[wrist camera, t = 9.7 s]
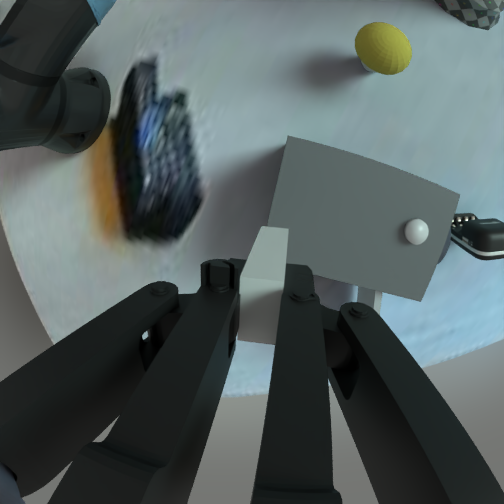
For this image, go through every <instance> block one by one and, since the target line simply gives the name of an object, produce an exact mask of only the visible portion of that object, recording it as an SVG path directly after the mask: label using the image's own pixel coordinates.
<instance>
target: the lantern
mask: <svg viewBox="0 0 504 504" xmlns="http://www.w3.org/2000/svg"><path fill="white" fill-rule="evenodd" d="M435 1H436V2H437V3H438V4H439V5H440V6H441V7H442V8H443V9H444V10H445V11H446V12H448V13H450V14H451V15H453V16H454V17H456V18H458V19H459V20H461V21H462V22H464V23H465V24H467V25H468V26H471V27H476V28H481V29H485V30H489V29H490V28H492V27H493V26H494V25H496V24H497V23H498V21H499V18H500V12H501V11H503V10H504V0H435Z"/></svg>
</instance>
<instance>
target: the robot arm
mask: <svg viewBox="0 0 504 504" xmlns="http://www.w3.org/2000/svg"><path fill="white" fill-rule="evenodd" d="M115 2H116V0H0V151H2V150H8V149H15V148H22V147H30V146H40V145H41V146H44V147H46V148H49V149H51V150H54V151H57V152H59V153H64V154H68V153H78V152H81V151H83V150H85V149H87V148H88V147H89V146H91V145H92V144H93V143H94V142H95V140H96V139H97V138H98V137H99V135H100V134H101V132H102V130H103V128H104V126H105V124H106V121H107V118H108V114H109V110H110V101H111V97H110V89H109V85H108V82H107V80H106V79H105V77H104V76H103V75H102V74H101V73H100V72H98V71H96V70H93V69H89V68H75V69H70V70H65V69H66V67H67V66H68V64H69V63H70V61H71V60H72V59H73V57H74V56H75V54H76V53H77V52H78V50H79V49H80V47H81V46H82V45H83V43H84V42H85V41H86V39H87V38H88V37H89V36H90V34H91V33H92V32H93V31H94V29H95V28H96V27H97V26H99V25H100V23H101V20H102V19H103V18H104V16H105V15H106V14H107V13H108V11H109V10H110V9H111V8H112V6H113V5H114V4H115ZM288 230H289V229H287V228H276V227H266V226H261V228H260V231H259V233H258V235H257V238H256V240H255V243H254V245H253V247H252V250H251V252H250V254H249V257H248V259H247V260H243V259H233V258H230V259H229V260H225V259H213V260H208V261H205V262H203V263H202V264H201V286H200V288H199V290H198V291H197V293H193V294H178V287H177V286H176V285H175V284H173V283H170V282H165V281H162V282H161V281H157V282H154V283H150V284H148V285H146V286H144V287H143V288H141V289H139V290H138V291H136V292H135V293H133V294H132V295H130V296H128V297H127V298H125V299H124V300H122V301H120V302H119V303H117V304H116V305H114V306H113V307H111V308H110V309H108V310H106V311H105V312H103V313H102V314H100V315H99V316H97V317H96V318H94V319H92V320H91V321H89V322H88V323H86V324H85V325H83V326H82V327H80V328H79V329H77V330H76V331H74V332H73V333H71V334H70V335H68V336H67V337H65V338H64V339H62V340H61V341H59V342H58V343H56V344H55V345H53V346H52V347H50V348H49V349H47V350H46V351H44V352H43V353H41V354H40V355H38V356H37V357H35V358H34V359H33V360H31V361H30V362H28V363H27V364H25V365H24V366H22V367H21V368H20V369H18V370H17V371H15V372H14V373H12V374H11V375H9V376H8V377H7V378H5V379H4V380H2V381H1V382H0V504H25V502H24V501H23V499H22V497H24V496H27V495H29V494H32V493H33V492H35V491H37V490H39V489H40V488H42V487H44V486H45V485H46V484H47V483H49V482H50V481H51V480H52V479H53V478H55V477H56V476H57V475H58V474H59V473H60V472H61V471H62V470H63V469H64V468H65V467H66V466H67V465H68V464H70V462H72V461H73V462H72V463H71V465H70V466H69V468H68V470H67V471H66V473H65V475H64V476H63V478H62V480H61V481H60V483H59V485H58V487H57V488H56V490H55V491H54V493H53V495H52V497H51V499H50V500H49V502H48V504H187V502H188V499H189V496H190V492H191V490H192V487H193V483H194V480H195V477H196V474H197V471H198V468H199V465H200V461H201V458H202V455H203V452H204V449H205V446H206V442H207V439H208V436H209V433H210V429H211V426H212V423H213V420H214V417H215V413H216V410H217V407H218V404H219V400H220V397H221V394H222V391H223V388H224V384H225V381H226V378H227V375H228V371H229V368H230V365H231V361H232V358H233V355H234V351H235V347H236V336H237V332H238V340H241V341H248V342H256V343H264V344H273V345H275V351H274V358H273V366H272V373H271V381H270V388H269V395H268V402H267V408H266V415H265V421H264V428H263V434H262V440H261V446H260V452H259V458H258V464H257V470H256V475H255V482H254V487H253V492H252V497H251V503H250V504H342V498H341V495H340V493H339V492H338V491H337V490H335V489H334V486H333V467H332V466H333V465H332V435H331V416H330V401H329V386H328V379H329V381H330V384H331V386H332V388H333V391H334V393H335V396H336V398H337V400H338V403H339V405H340V408H341V410H342V412H343V415H344V417H345V420H346V422H347V425H348V427H349V430H350V432H351V434H352V437H353V439H354V442H355V444H356V447H357V449H358V451H359V454H360V457H361V459H362V462H363V464H364V467H365V469H366V472H367V474H368V477H369V479H370V482H371V484H372V487H373V490H374V492H375V495H376V497H377V500H378V502H379V504H504V492H503V491H502V489H501V487H500V485H499V483H498V482H497V480H496V478H495V477H494V475H493V473H492V472H491V470H490V468H489V466H488V465H487V463H486V462H485V460H484V458H483V457H482V455H481V454H480V452H479V450H478V449H477V447H476V446H475V444H474V443H473V441H472V440H471V438H470V436H469V435H468V433H467V432H466V430H465V429H464V427H463V426H462V424H461V423H460V421H459V420H458V419H457V417H456V416H455V414H454V413H453V411H452V410H451V409H450V407H449V406H448V404H447V403H446V401H445V400H444V399H443V397H442V396H441V394H440V393H439V392H438V391H437V389H436V388H435V386H434V385H433V384H432V382H431V381H430V379H429V378H428V377H427V375H426V374H425V373H424V371H423V370H422V369H421V367H420V366H419V365H418V363H417V362H416V361H415V359H414V358H413V357H412V356H411V354H410V353H409V352H408V350H407V349H406V348H405V347H404V345H403V344H402V343H401V341H400V340H399V339H398V338H397V336H396V335H395V334H394V333H393V331H392V330H391V329H390V328H389V326H388V325H387V324H386V323H385V321H384V320H383V319H382V318H381V317H380V315H379V314H378V313H377V312H376V311H375V310H374V309H373V308H372V307H370V306H368V305H366V304H364V303H360V302H350V303H345V304H344V305H342V306H341V308H340V311H336V310H332V309H329V308H327V307H325V306H323V305H321V304H320V299H319V297H318V295H317V294H315V289H314V281H313V273H312V270H311V269H310V268H309V267H308V266H307V265H299V264H289V263H286V256H287V243H288ZM146 331H147V332H148V337H147V338H146V339H144V340H143V339H142V335H143V334H144V332H146ZM119 415H120V416H119ZM118 416H119V417H118ZM117 417H118V419H117V421H116V422H115V424H114V426H113V427H112V429H111V431H110V432H109V434H108V436H107V437H106V438H105V440H104V441H102V442H93V441H94V440H95V438H97V437H98V436H99V435H100V434H101V433H102V432H103V431H104V430H105V429H106V428H107V427H108V426H109V425H110V424H111V423H112V422H113V421H114V420H115V419H116V418H117Z"/></svg>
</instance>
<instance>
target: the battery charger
mask: <svg viewBox="0 0 504 504" xmlns="http://www.w3.org/2000/svg"><path fill="white" fill-rule="evenodd" d="M450 228H451V239H450V240H452V241H453V242H454V243H456V244H457V245H458V246H460V247H461V248H462V249H464V250H465V251H466V252H468V253H469V254H471V255H472V256H474V257H475V258H477V259H480V260H495V259H502V258H504V223H503V222H501V221H499V220H497V219H494V218H492V219H478V218H477V217H476V216H475V215H474V214H472V213H464V214H454V218H453V221H452V224H451V227H450Z"/></svg>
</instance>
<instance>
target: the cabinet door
mask: <svg viewBox="0 0 504 504" xmlns="http://www.w3.org/2000/svg"><path fill="white" fill-rule="evenodd" d="M381 299H382V292H380V291H376V290H372V289H368V288H364V287H360V286H358V297H357V302H360V303H364V304H366V305H368V306H370V307H372V308H373V309H374V310H375V311H376V312H377V313H378V314H379V315H380V307H381Z"/></svg>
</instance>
